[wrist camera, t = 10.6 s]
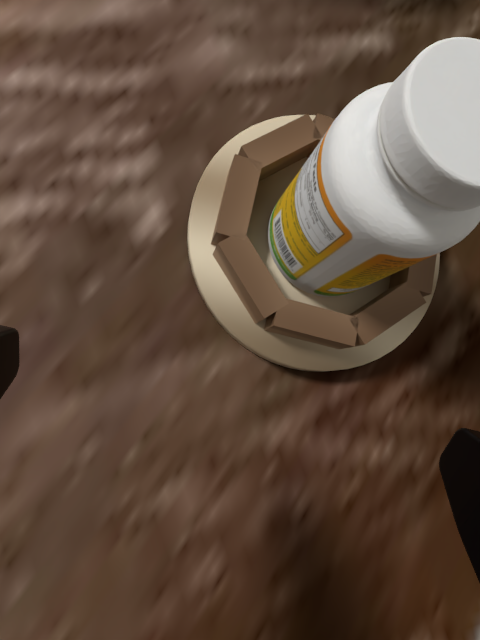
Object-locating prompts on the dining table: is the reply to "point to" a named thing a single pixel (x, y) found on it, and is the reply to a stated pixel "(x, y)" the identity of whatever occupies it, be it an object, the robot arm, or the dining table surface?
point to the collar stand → (264, 276)
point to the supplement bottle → (387, 178)
